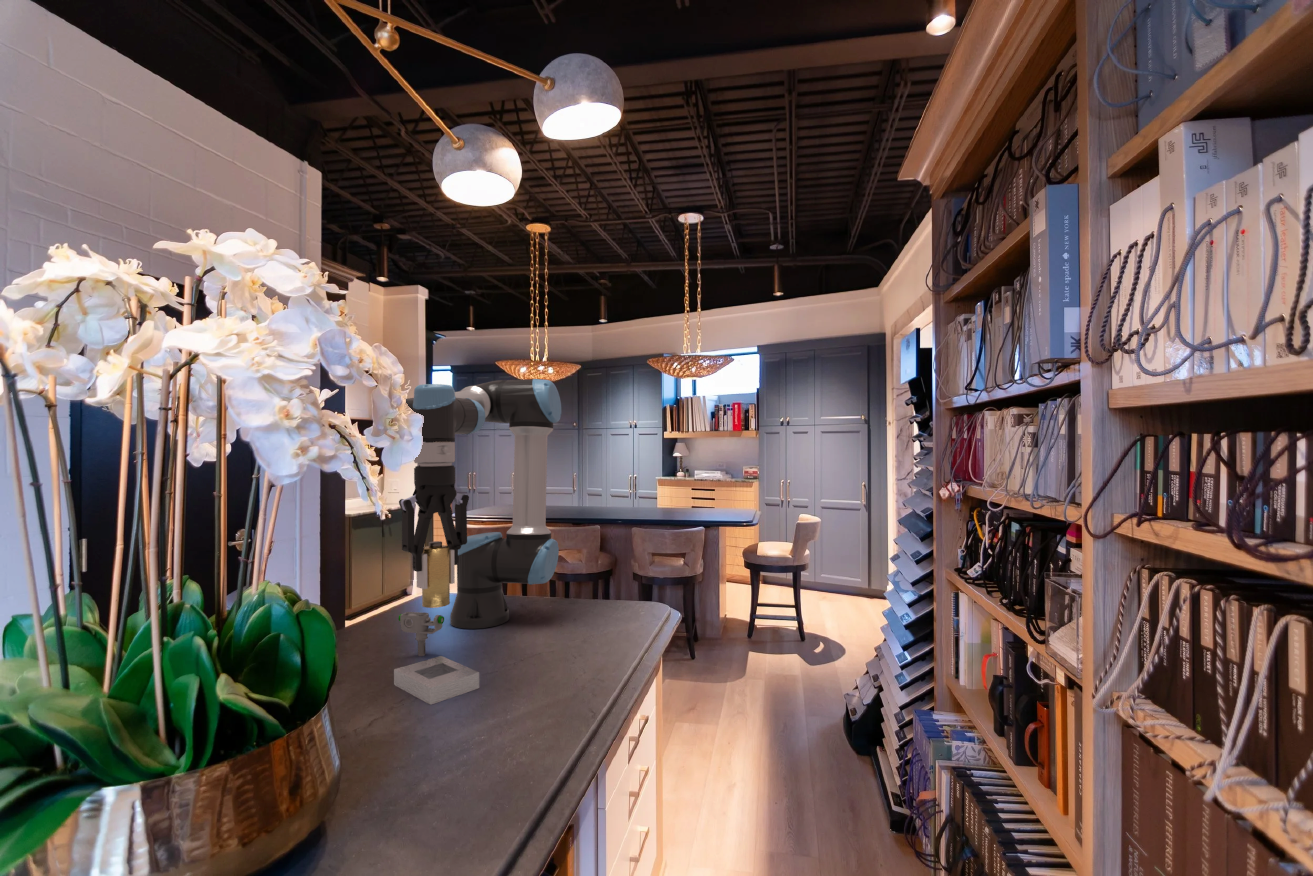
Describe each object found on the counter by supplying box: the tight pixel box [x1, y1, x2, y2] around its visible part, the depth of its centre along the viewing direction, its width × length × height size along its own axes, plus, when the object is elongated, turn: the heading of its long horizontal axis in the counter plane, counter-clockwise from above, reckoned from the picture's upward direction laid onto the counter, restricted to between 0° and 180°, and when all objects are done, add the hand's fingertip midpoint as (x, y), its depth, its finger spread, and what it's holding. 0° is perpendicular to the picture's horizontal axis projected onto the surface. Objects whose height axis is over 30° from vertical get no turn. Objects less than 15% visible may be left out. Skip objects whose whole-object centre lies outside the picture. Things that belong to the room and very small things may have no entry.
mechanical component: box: [398, 611, 445, 657], centre depth 140 cm, size 3×10×10 cm, turn 79°
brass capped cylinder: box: [421, 540, 451, 609], centre depth 122 cm, size 5×5×12 cm
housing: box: [393, 655, 480, 706], centre depth 122 cm, size 14×10×4 cm
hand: (435, 584), depth 122 cm, fingers closed on brass capped cylinder, 5 cm apart
